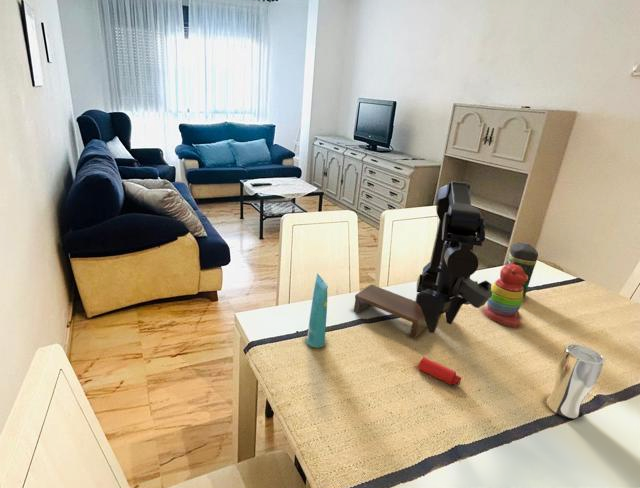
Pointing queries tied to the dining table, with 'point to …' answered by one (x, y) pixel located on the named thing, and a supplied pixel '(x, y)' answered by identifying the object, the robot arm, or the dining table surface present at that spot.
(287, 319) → the dining table surface
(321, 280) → the tube
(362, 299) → the shelf
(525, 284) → the coffee jar
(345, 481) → the dining table surface
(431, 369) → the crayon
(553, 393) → the silver metal cylinder
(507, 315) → the stacking bear
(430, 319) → the robot arm
